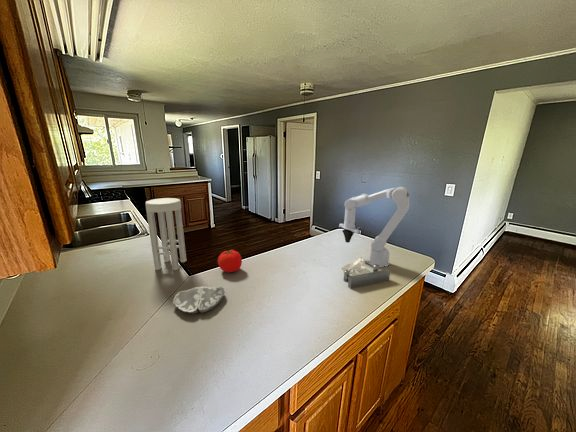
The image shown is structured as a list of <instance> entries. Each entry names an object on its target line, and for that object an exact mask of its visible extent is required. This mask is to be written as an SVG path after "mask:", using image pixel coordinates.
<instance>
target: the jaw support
mask: <svg viewBox="0 0 576 432" xmlns="http://www.w3.org/2000/svg"><path fill="white" fill-rule="evenodd" d="M340 270H341V271H342V272H343V273H344V270H349V275H352V276H356V275H361V274H366V273H371V271H370V270H369V269H368V267H367V265H366V262H365V259H363V257H359V258H356V259H355V260H353V261H351V262H349V263H347V264H346V265H344V266H342V267H341V268H340Z"/></svg>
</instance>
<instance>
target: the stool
mask: <svg viewBox="0 0 576 432" xmlns="http://www.w3.org/2000/svg"><path fill="white" fill-rule="evenodd" d="M145 211H146V218H147V224H148V232H149V238H150V239H149V240H150V244H151V245H150V246H151V250H152V252H151V253H152V259H153V265H154V270H156V271H158V270H161V269H162V260H161V256H163V262H164V263H165V262H166V263H168V262H170V261H171V266H172V271H178V270H179V268H180V267H179V266H180V265H179V264H180V263H179V259H180V262H181V263H185V262H187V253H186V252H187V251H186V244H185V235H184V226H183V215H182V201H181V199H180V198H176V197H175V198H174V197H162V198H154V199H150V200H146V201H145ZM173 211H174V213H175V214H173ZM155 213H157V218H158V226H159V234H160V242H161V245H159V241H158V234H157V233H158V232H157V223H156V218H155ZM174 216H175V221H174ZM175 223H176V225H175ZM175 226H176V231H175ZM176 232H177V238H176ZM177 243H178V245H177ZM160 250H162V251H160ZM178 251H179V257H178Z"/></svg>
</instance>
